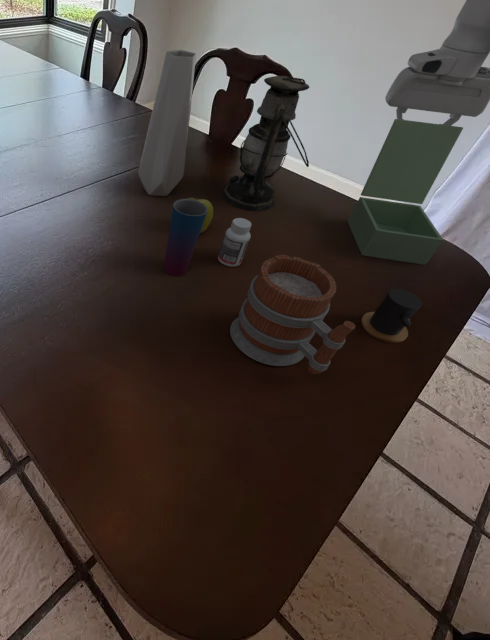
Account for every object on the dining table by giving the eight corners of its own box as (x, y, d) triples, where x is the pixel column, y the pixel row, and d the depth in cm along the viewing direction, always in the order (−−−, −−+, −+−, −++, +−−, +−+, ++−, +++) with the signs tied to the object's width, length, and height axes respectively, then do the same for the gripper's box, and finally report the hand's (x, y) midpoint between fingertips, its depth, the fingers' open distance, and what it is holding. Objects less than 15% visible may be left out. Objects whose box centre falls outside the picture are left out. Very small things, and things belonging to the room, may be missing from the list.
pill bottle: (230, 251, 103) (243, 214, 96) (246, 264, 100) (260, 226, 93) (212, 257, 101) (224, 218, 94) (227, 269, 98) (241, 231, 91)
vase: (128, 182, 126) (146, 46, 102) (165, 179, 128) (191, 46, 105) (143, 202, 118) (166, 60, 94) (182, 199, 120) (214, 60, 97)
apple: (206, 240, 104) (204, 198, 98) (175, 238, 109) (172, 198, 103) (218, 226, 109) (217, 186, 103) (188, 225, 113) (185, 186, 108)
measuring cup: (366, 313, 89) (385, 286, 84) (395, 318, 88) (416, 291, 83) (377, 342, 83) (397, 314, 78) (408, 347, 83) (431, 320, 78)
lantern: (222, 179, 130) (256, 63, 109) (288, 190, 128) (336, 73, 106) (219, 208, 118) (257, 83, 96) (292, 221, 115) (348, 96, 93)
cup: (167, 256, 100) (180, 195, 90) (194, 267, 98) (212, 205, 87) (154, 271, 96) (167, 208, 85) (183, 282, 94) (200, 219, 83)
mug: (271, 308, 89) (301, 245, 79) (343, 377, 77) (390, 313, 66) (214, 324, 85) (238, 260, 74) (280, 399, 73) (320, 335, 62)
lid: (463, 127, 100) (452, 124, 104) (396, 119, 101) (387, 115, 105) (422, 204, 110) (413, 198, 114) (361, 195, 111) (355, 189, 116)
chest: (425, 265, 104) (444, 240, 99) (361, 255, 105) (376, 230, 101) (404, 229, 115) (420, 205, 110) (347, 220, 117) (359, 196, 112)
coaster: (399, 317, 90) (401, 315, 89) (412, 346, 84) (414, 344, 83) (356, 310, 90) (358, 308, 90) (366, 338, 85) (367, 336, 84)
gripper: (501, 66, 96) (459, 131, 106) (403, 54, 98) (370, 120, 108) (515, 73, 91) (469, 141, 101) (411, 61, 93) (377, 129, 103)
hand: (417, 130), depth 105 cm, fingers open, 8 cm apart
